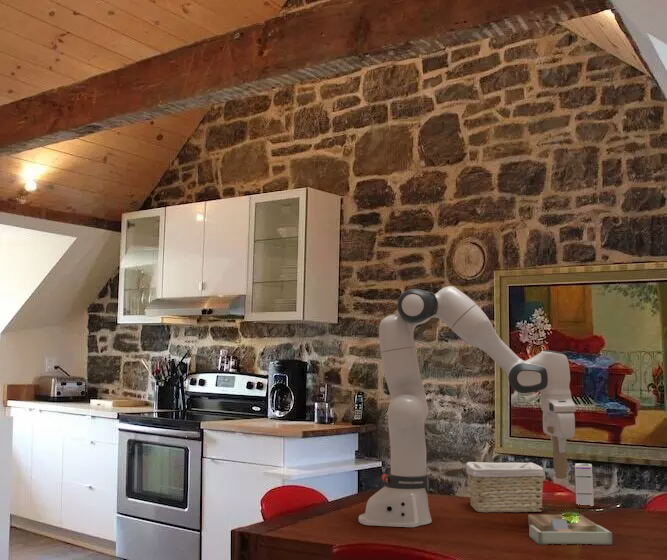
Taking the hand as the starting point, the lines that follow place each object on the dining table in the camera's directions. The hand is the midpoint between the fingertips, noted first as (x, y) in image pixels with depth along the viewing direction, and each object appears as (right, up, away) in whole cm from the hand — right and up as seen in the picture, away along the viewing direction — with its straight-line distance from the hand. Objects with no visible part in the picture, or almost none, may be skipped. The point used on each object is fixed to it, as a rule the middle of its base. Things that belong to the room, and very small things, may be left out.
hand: (559, 451), depth 236 cm
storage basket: (-10, -26, +31) cm, 41 cm away
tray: (-2, -21, -16) cm, 27 cm away
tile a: (-3, -18, -17) cm, 25 cm away
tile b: (-4, -20, -12) cm, 23 cm away
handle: (0, -8, -1) cm, 8 cm away
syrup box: (+18, -27, +34) cm, 47 cm away
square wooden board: (0, -23, -3) cm, 23 cm away
